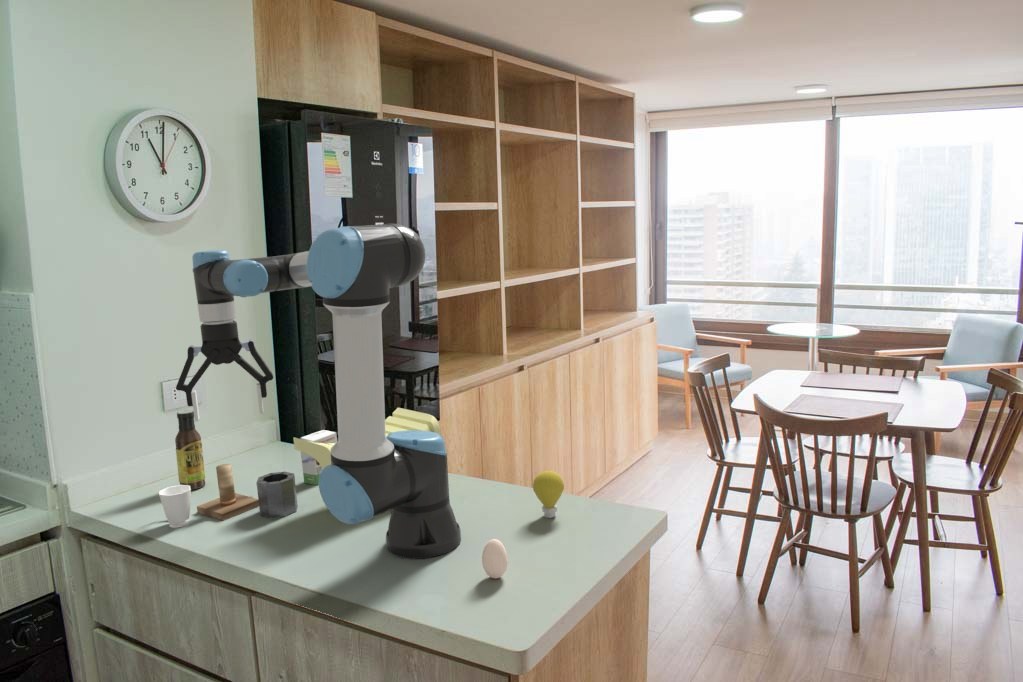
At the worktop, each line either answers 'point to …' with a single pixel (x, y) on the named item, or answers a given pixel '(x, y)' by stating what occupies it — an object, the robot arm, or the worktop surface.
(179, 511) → the cup
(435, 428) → the slatted curved stool
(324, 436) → the ink box
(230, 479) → the post
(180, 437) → the sauce bottle
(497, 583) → the worktop surface
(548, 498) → the light bulb
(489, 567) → the egg
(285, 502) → the grey hollow octagonal piece
